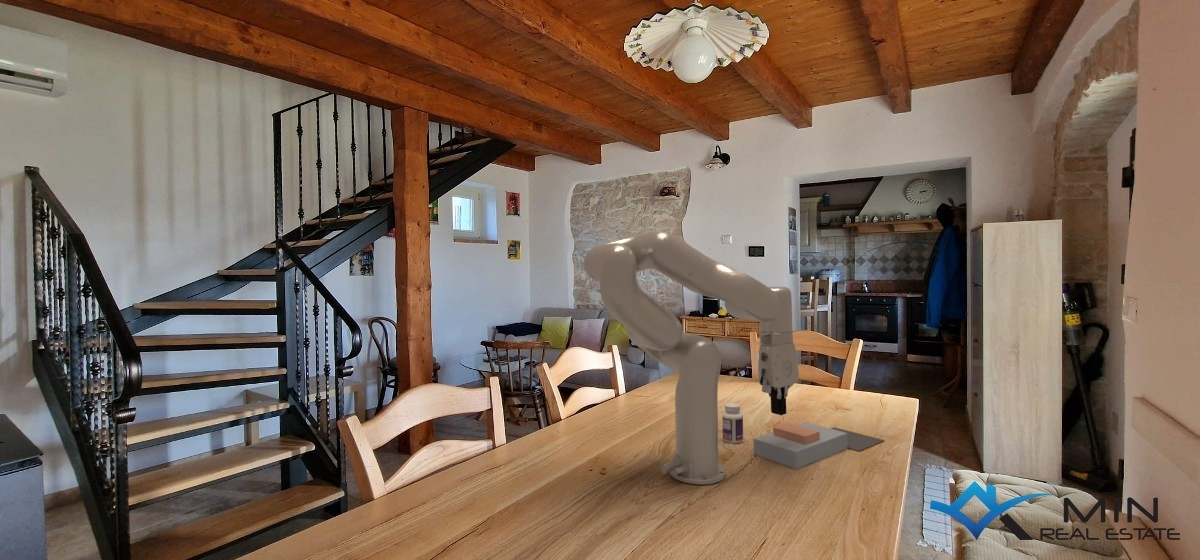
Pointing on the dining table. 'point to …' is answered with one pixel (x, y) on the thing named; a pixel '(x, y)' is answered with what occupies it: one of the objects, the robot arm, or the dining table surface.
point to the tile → (796, 433)
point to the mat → (859, 440)
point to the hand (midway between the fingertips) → (778, 413)
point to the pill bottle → (732, 424)
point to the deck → (800, 447)
